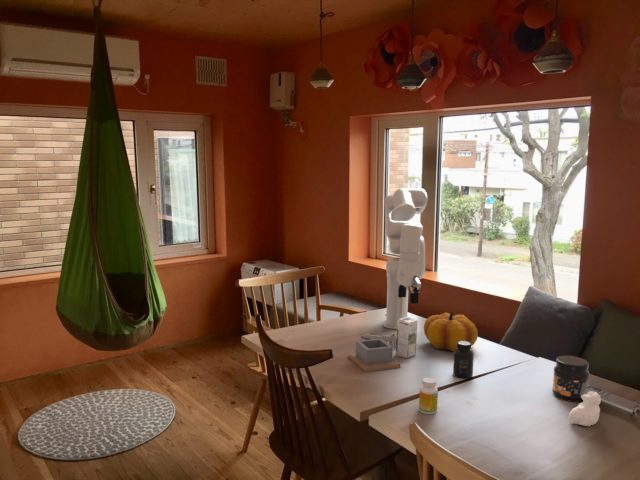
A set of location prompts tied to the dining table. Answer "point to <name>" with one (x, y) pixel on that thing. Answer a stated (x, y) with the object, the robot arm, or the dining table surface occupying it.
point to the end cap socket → (374, 355)
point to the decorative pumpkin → (449, 330)
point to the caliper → (383, 338)
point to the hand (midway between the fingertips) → (407, 300)
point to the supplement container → (570, 378)
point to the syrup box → (406, 337)
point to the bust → (586, 410)
